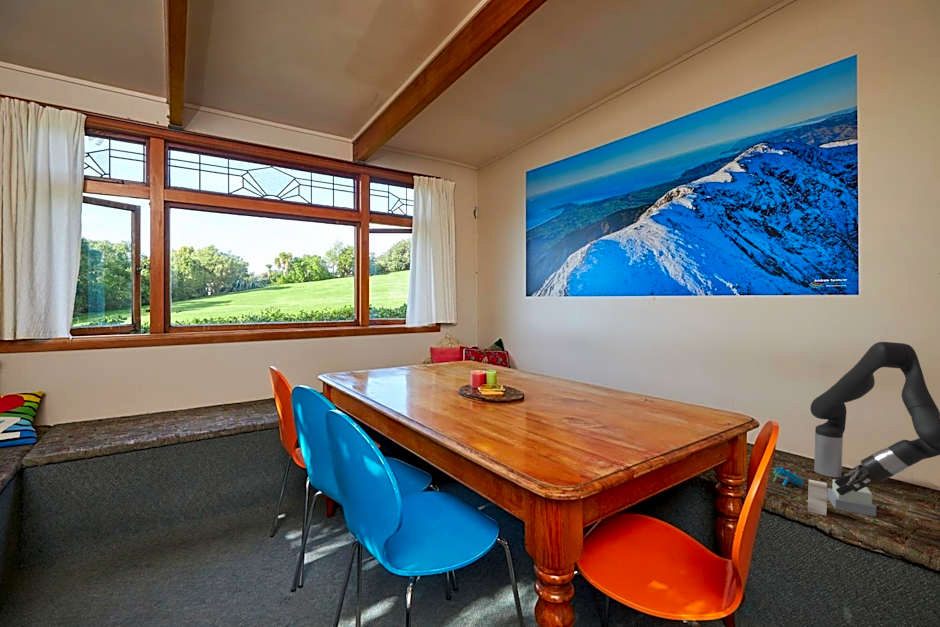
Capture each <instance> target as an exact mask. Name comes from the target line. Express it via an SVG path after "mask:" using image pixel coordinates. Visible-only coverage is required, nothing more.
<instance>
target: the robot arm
mask: <svg viewBox="0 0 940 627" xmlns="http://www.w3.org/2000/svg"><path fill="white" fill-rule="evenodd" d="M881 368H888V369H889V368H890V369H900V370H901V372H902V373H903V375H904V378H905V382H904V385H903V387H902V390H901V399H902V400H901V401H902V402H903V405H904V407H905V408H906V410H907V412H908V414H909V416H910V417H911V422H912V425H913V429H914V432H915V434H916V435H917V436H918V438H915V439H914V440H909V439H902V440H899V441H897V442H894V443H893V444H891V445H889V446H888V447H885V448H883V449H880V450H878V451H876V452H875V453H873V454H870V455H869V456H866V457H865V458H863V459H862V460H860V464H858V465H856V466H855V467H852V468H851V469H848V470H846V471H845V473H844V475H842V474H843V472H842V469H843V444H844V440H843V439H844V437H843V436H844V433H845V431H846V430H845V429H846V423H847V422H846V421H847V407H846V403H849V402H852V401H855V400H858V399H860V398H862V397H864V396H865V395H867V394H868V393H870V392H871V390H872V389H873V388H874V386H875V383H876V382H875V376H874V373H875V372H876V371H877V370H879V369H881ZM810 413H811V414H812V416H813V417H815V418H816V419H819V420H827V421H825V422H824V423H822V424H819V425H816V426H815V427H814V428H815V429H814V430H815V432H814V434H815V435H814V463H813V466H814V467H813V472H815V473H817V474H819V475H821V476H825V477H830V478H837V479H835V483H836V484H837V485H838V486H839V488H837V489H836V491H837V492H838V493H839V494H840V495H844V494H846V493H848V492H850V491H852V490H853V491H855V492H857V491H859V490H861V489H862V488H864V487H868V486H870V485H872V484H873V483H874V482H873V480H872V479H874V478H875V479H876V480H878V481H880V482H884V481H886V480H887V479H890V478H891V477H893V476H895V475H897V474H899V473H901V472H904V470H906V469H907V468H910V467H911V466H913V465H915V464H917V463H920V462H921V461H923V460H925V459H926V460H927V459H931V458H933V457H934V458H935V457H938V456H940V410H939V407H938V405H937V404H936V402H935V401H934V399H933V397H932V395H931V394H930V392H929V390H928V387H927V384H926V381H925V377H924V374H923V370H922V367H921V364H920V360H919V358H918V355H917V353H916V350H915V349H914V348H913V347H912V346H911V345H910V344H907V343H903V342H892V341H878V342H876V343H874V344H873V345H872V346H870V348H868V350H867V351H865V353H864V354H863V356H862V357H861V359H859V361H858V362H857V363H856V364H855V365H854V366H853V367H851V369H850V370H848V371H847V372H846V373H845V374H844V375H843V376H842V377H840V378H839V380H838V381H837V382H836V383H834V384H833V385H832V386H831V387H830V388H828V389H827V390H826V391H824V392H823V393H821V394H820V395H818V396H816V398H814V399H813V401H812V402H811V404H810ZM854 484H855V486H854Z"/></svg>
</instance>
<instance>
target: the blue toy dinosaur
mask: <svg viewBox="0 0 940 627" xmlns="http://www.w3.org/2000/svg"><path fill="white" fill-rule="evenodd" d="M772 473H773V474H774V478H773V479H772V482H774V481H775V482H776V481H777V479H780V480H782V481H783V480H784V481H783V482H782V485H783V486H782V485H781V486H782V487H784V486H785V487H786V485H787V484H788V483H790V484H791V483H792V484H793V485H795V484H796V485H795V486H797V485H798V486H802V485H804V483H805V481H803V478H802V477H799V476H798V474H797V473H792V472H791V470H790V469H785V468H784V467H778V466H777V467H776V468H775V469H774V471H773V472H772Z"/></svg>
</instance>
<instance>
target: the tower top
mask: <svg viewBox="0 0 940 627" xmlns="http://www.w3.org/2000/svg"><path fill="white" fill-rule="evenodd" d="M835 480H836V479H834V478H833V479H832V487H831V488H832V490H833V491H834V493H835V494H836V496H837V497H838V499H842V500H847V501H853V502H858V503H864V504H869V505H872V502H873V493H872V492H871V490H870V489H869V487H868V486H866V487H864V488H862V489H861V490H859V491H857V492H855V491H853V490H852V491H850V492H848V493H846V494H844V495H840V494H839V493H838V492H837V491H836V489H837V488H839V486H838V485H837V484H836V483H835ZM854 486H855V484H854Z"/></svg>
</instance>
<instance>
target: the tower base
mask: <svg viewBox="0 0 940 627" xmlns="http://www.w3.org/2000/svg"><path fill="white" fill-rule="evenodd" d="M828 498H829V499H828ZM827 499H828V501H830V503H831V505H832V506H833V508H834V509H835V510H839V511H843V512H847V513H848V512H849V513H854V514H858V513H859V514H860V515H865V516H869V515H870V516H869V517H874V516H875V518H876V517H877V506H876V505H875V503H874V501H872V505H869V504H864V503H858V502H853V501H847V500H842V499H838V497H837V496H836V494H835V493H834V491H833V490H832V487H831V488H830V487H827Z"/></svg>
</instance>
